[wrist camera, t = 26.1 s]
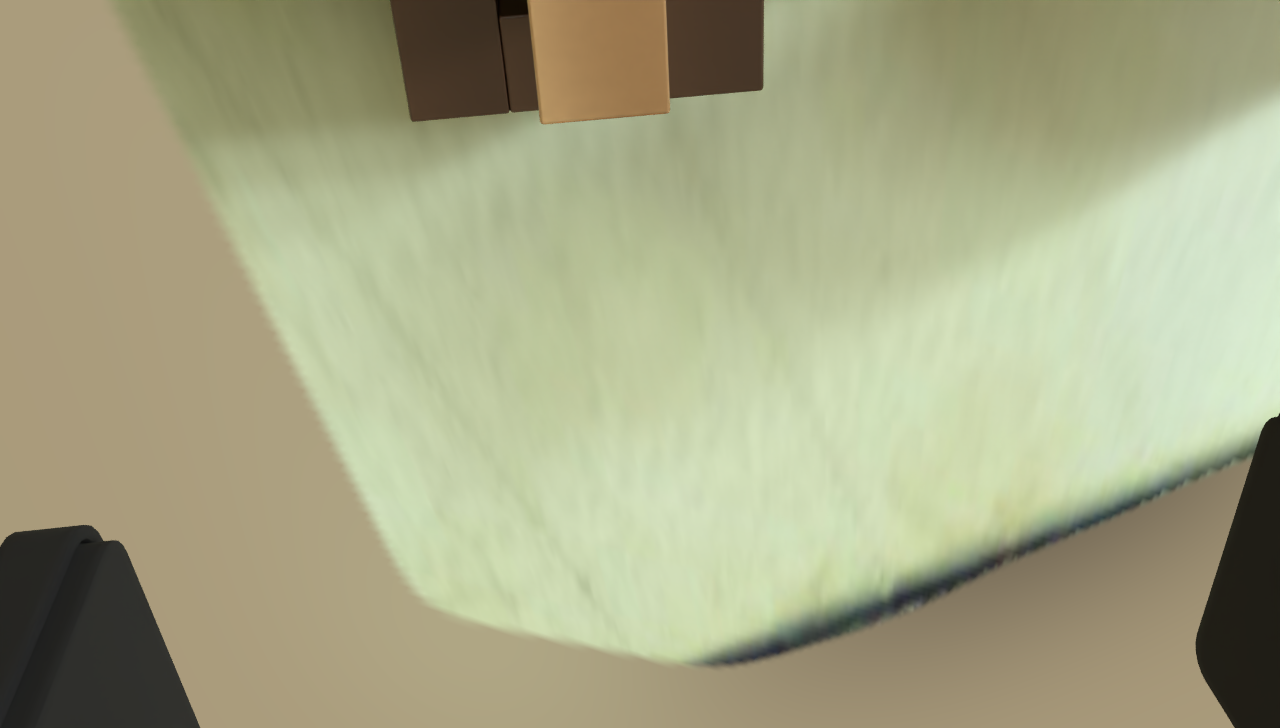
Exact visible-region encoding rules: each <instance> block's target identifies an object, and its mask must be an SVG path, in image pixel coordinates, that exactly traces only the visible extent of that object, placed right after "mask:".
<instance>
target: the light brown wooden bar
mask: <svg viewBox="0 0 1280 728" xmlns="http://www.w3.org/2000/svg"><path fill="white" fill-rule="evenodd" d="M527 4H528V13H529V22H530V32H531V41H532V50H533V60H534V69H535V78H536V88H537V97H538V106H539V116H540V122H541V124H553V123H564V122H575V121H587V120H598V119H610V118H621V117H632V116H644V115H655V114H666V113H669V111H670V94H669V68H668V43H667V17H666V0H527Z"/></svg>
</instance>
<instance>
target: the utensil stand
mask: <svg viewBox="0 0 1280 728" xmlns="http://www.w3.org/2000/svg"><path fill="white" fill-rule="evenodd" d="M390 5H391V11H392V16H393V22H394V28H395V33H396V39H397V45H398V50H399V56H400V62H401V67H402V73H403V79H404V84H405V90H406V96H407V102H408V107H409V113H410V119H411V120H412V121H413V122H415V121H426V120H437V119H449V118H460V117H471V116H482V115H493V114H504V113H509V111H511V112H523V111H535V110H539V106H538V97H537V88H536V78H535V69H534V60H533V50H532V41H531V32H530V22H529V13H528V4H527V0H390ZM666 17H667V43H668V68H669V94H670V98H680V97H692V96H703V95H714V94H725V93H736V92H747V91H759V90H762V89H763V68H764V0H666Z"/></svg>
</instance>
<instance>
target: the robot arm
mask: <svg viewBox="0 0 1280 728" xmlns="http://www.w3.org/2000/svg"><path fill="white" fill-rule="evenodd" d="M1196 655H1197V660H1198V664H1199V667H1200V670H1201V673H1202V674H1203V677H1204V679H1205V680H1206V682H1207V684H1208V686H1209V687H1210V689H1211V690H1212V692H1213V693H1214V695H1215V697H1216V698H1217V700H1218V702H1219V703H1220V705H1221V706H1222V708H1223V709H1224V711H1225V713H1226V714H1227V716H1228V717H1229V719H1230V721H1231V722H1232V724H1233V726H1234V727H1235V728H1280V414H1279V416H1278V417H1274V418H1271V419H1269V420H1268V421H1267V422H1266V423H1265V425H1264V427H1263V429H1262V431H1261V434H1260V437H1259V441H1258V444H1257V447H1256V450H1255V453H1254V456H1253V459H1252V463H1251V466H1250V469H1249V472H1248V475H1247V478H1246V481H1245V485H1244V488H1243V491H1242V494H1241V497H1240V500H1239V503H1238V507H1237V510H1236V513H1235V516H1234V519H1233V523H1232V526H1231V529H1230V532H1229V535H1228V538H1227V541H1226V544H1225V548H1224V551H1223V554H1222V557H1221V560H1220V563H1219V566H1218V570H1217V573H1216V576H1215V579H1214V582H1213V585H1212V588H1211V592H1210V595H1209V598H1208V601H1207V604H1206V607H1205V611H1204V614H1203V617H1202V620H1201V623H1200V626H1199V629H1198V633H1197V637H1196ZM0 728H200V726H199V724H198V721H197V719H196V717H195V714H194V712H193V709H192V707H191V705H190V702H189V700H188V697H187V695H186V693H185V690H184V688H183V686H182V683H181V681H180V678H179V676H178V673H177V671H176V669H175V666H174V664H173V661H172V659H171V657H170V654H169V652H168V650H167V647H166V645H165V642H164V640H163V637H162V635H161V633H160V631H159V628H158V626H157V624H156V621H155V618H154V616H153V613H152V611H151V609H150V607H149V604H148V602H147V599H146V597H145V594H144V592H143V590H142V587H141V585H140V583H139V580H138V577H137V575H136V573H135V570H134V568H133V566H132V563H131V561H130V558H129V556H128V553H127V551H126V550H125V548H124V546H123V545H122V544H121V543H120V542H119V541H103V540H102V538H101V536H100V534H99V533H98V531H97V530H96V529H94V528H93V527H92V526H89V525H80V526H70V527H62V528H51V529H42V530H32V531H23V532H15V533H13V534H11V535H9V536H8V537H6V539H5V540H4V542H3V543H2V545H1V547H0Z"/></svg>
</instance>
